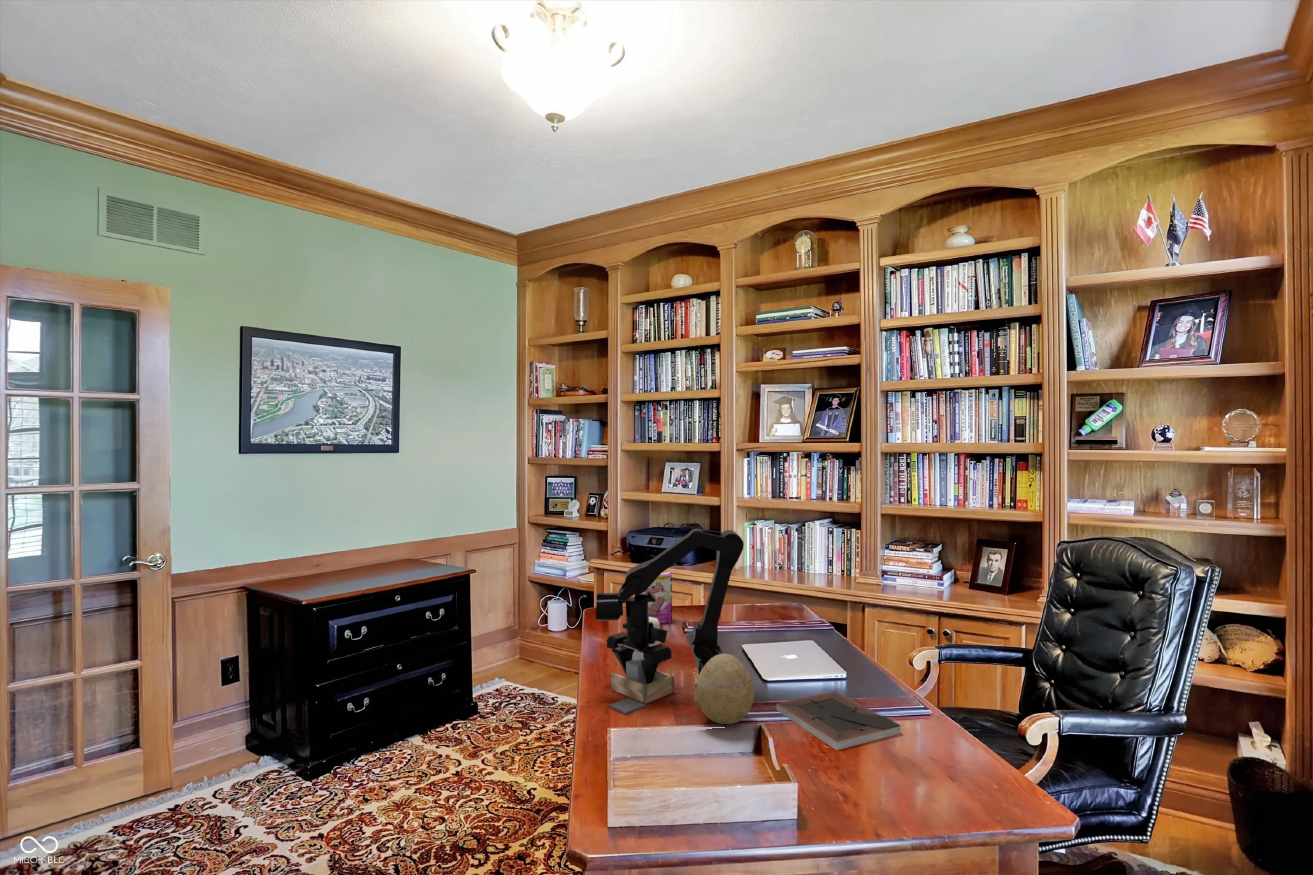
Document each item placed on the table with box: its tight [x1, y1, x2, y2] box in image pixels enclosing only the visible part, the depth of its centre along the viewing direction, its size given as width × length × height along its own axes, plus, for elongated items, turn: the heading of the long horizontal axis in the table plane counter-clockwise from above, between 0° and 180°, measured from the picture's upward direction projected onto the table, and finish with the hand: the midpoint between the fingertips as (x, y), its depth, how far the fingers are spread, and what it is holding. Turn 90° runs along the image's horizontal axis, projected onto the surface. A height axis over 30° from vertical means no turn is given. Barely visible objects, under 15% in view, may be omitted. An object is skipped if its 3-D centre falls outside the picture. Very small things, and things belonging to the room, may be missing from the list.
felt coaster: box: [608, 697, 646, 715], centre depth 161 cm, size 6×6×1 cm
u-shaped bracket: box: [610, 669, 675, 705], centre depth 171 cm, size 13×10×4 cm
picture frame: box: [776, 690, 902, 751], centre depth 151 cm, size 16×2×22 cm
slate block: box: [625, 658, 647, 685], centre depth 172 cm, size 4×4×7 cm
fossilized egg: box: [695, 653, 755, 725], centre depth 152 cm, size 13×13×15 cm
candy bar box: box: [642, 571, 673, 625], centre depth 230 cm, size 11×5×16 cm, turn 91°
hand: (639, 681), depth 172 cm, fingers open, 7 cm apart
